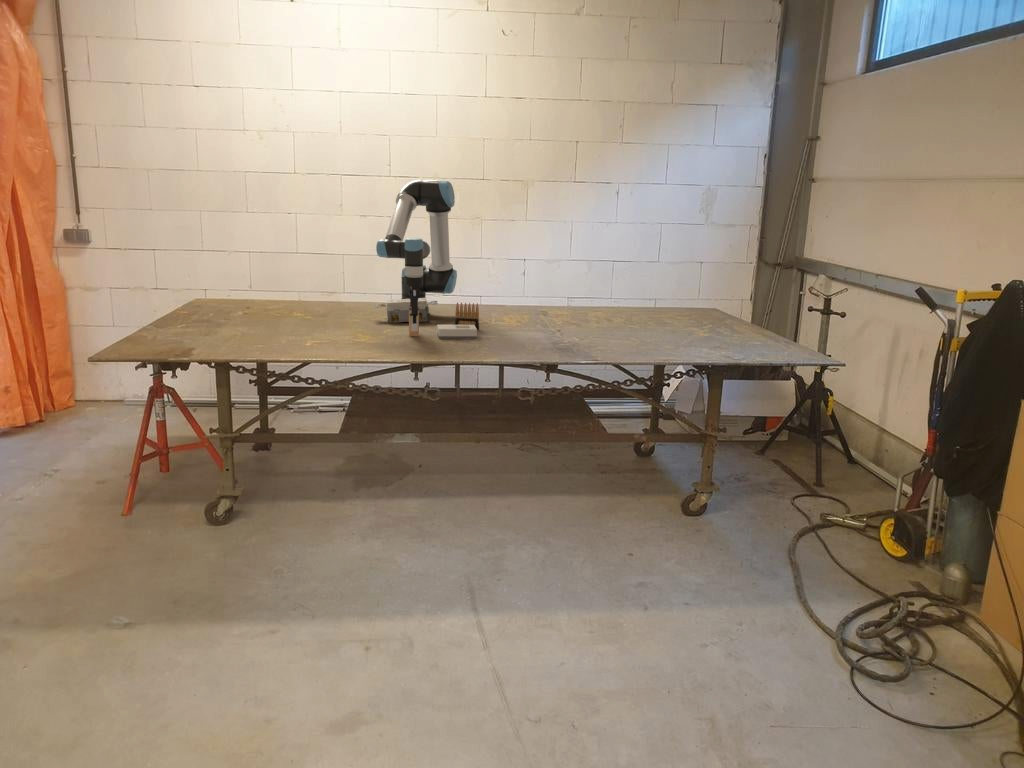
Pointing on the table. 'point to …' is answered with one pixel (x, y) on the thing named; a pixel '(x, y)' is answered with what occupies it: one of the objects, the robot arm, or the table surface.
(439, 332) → the socket plate
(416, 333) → the copper brown rectangular block
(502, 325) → the table surface
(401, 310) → the electrical outlet
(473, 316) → the ammunition clip
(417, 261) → the robot arm
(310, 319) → the table surface
